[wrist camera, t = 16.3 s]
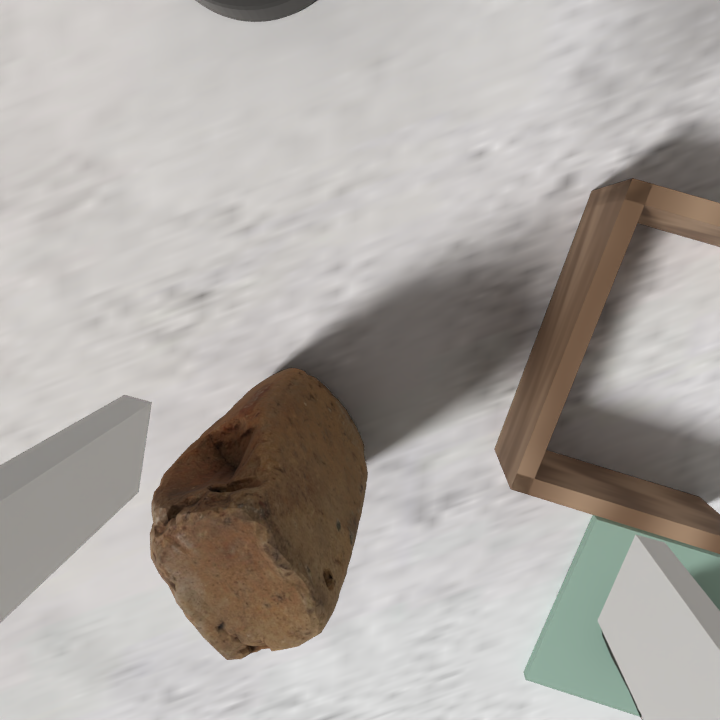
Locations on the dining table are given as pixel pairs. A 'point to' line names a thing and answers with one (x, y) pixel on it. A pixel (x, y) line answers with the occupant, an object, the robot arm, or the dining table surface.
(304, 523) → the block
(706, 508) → the frame
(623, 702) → the mat
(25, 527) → the robot arm
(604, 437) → the dining table surface
